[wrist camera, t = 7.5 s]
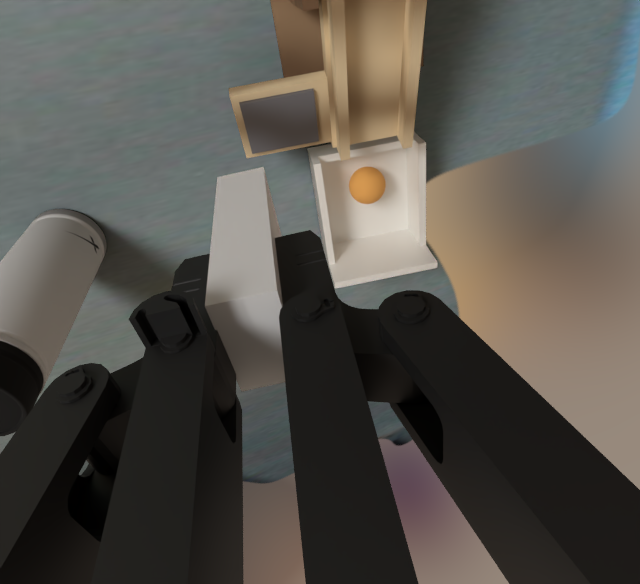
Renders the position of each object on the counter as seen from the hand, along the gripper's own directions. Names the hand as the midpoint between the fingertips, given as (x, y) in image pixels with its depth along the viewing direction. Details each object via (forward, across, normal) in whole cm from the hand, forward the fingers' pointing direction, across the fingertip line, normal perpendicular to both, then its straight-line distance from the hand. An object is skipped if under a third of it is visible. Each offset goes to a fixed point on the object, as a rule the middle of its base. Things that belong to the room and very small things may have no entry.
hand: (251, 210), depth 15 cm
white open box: (+24, +8, -13) cm, 28 cm away
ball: (+22, +8, -11) cm, 26 cm away
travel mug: (+24, -19, -11) cm, 33 cm away
